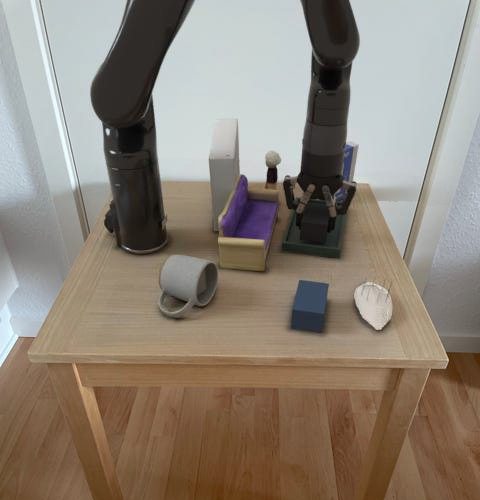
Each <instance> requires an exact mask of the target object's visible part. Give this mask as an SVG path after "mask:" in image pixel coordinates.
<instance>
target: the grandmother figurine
mask: <svg viewBox="0 0 480 500" xmlns="http://www.w3.org/2000/svg"><path fill="white" fill-rule="evenodd" d="M264 157H265V158H264V159H265V166H266V167H267V171H266V181H265V184H264V187H263V189H271V190H277V186H278V179H279V173H278V168H277V166H278V165H280V164H281V162H282V159H281V155H280V154H279V153H278V152H276V151H275V150H274V149H273V150H272V149H271V150H268V151H267V152H266V153H265V156H264Z"/></svg>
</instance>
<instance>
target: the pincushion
mask: <svg viewBox="0 0 480 500" xmlns="http://www.w3.org/2000/svg"><path fill="white" fill-rule="evenodd" d="M375 279H376V278H374V280H373V281H375ZM366 280H367V277H366V278H365V280H364V281H363V283H362V284H360V285H359V286H357V287H356V288H355V289H354V294H353V298H354V301H355V306H356V308H357V309H358V310H359V315H360V316H361V317H362V319H364V320H365V321H366V322H368V324H369V325H370V326H372V327H373V328H374V329H375V330H376V331H377V330H378V331H381V330H382V329H383V328H384V327H385V326H386V325H387V324H388V322H390V321H391V319H392V317H393V310H394V309H393V308H394V305H393V301H392V297H391V295H390V292H391V287H392V282H393V281H391V282H390V286H389V288H388V290H387V289H386V288H385V286H384V285H385V282H386V277H385V278H384V282H383V285H382V286H381V285H379V284H376V283H375V282H369V281H368V282H367V281H366Z"/></svg>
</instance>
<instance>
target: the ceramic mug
mask: <svg viewBox="0 0 480 500" xmlns="http://www.w3.org/2000/svg"><path fill="white" fill-rule="evenodd" d="M218 281H219V269H218V266H217V264H216V263H215V261H213V260H210V259H209V260H208V259H203V258H199V257H194V256H188V255H183V254H171V255H168V257H166V258H165V260H164V261H163V262H162V264H161V266H160V268H159V271H158V284H159V288H160V289H161V292H160V293H159V296H158V300H157V303H158V307H159V309H160V311H161V312H162V313H163V315H165V316H167V317H169V318H171V319H172V318H173V319H175V318H180V317H183V316H185V315H186V314H187V313H189V312H190V310H191V309H193V307H194V306H198V307H204V306H206V305H208V304H209V303H210V302H211V300H212V299H213V297H214V295H215V293H216V291H217V287H218ZM167 296H169V297H173V298H176V299H179V300H182V301H184V302H186V304H185V305H184V306H183V307H182V308H180V309H179V310H175V311H172V312H171V311H169V310H168V308H167V307H165V306H164V302H165V299H166V297H167Z"/></svg>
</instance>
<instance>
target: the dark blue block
mask: <svg viewBox="0 0 480 500" xmlns="http://www.w3.org/2000/svg"><path fill="white" fill-rule="evenodd" d="M329 287H330V283H329V282H328V283H326V282H320V281H312V280H305V279H298V283H297V287H296V291H295V297H294V301H293V304H292V309H291V320H290V329H294V330H301V331H307V332H314V333H322V332H323V325H324V319H325V314H326V313H325V312H326V307H327V301H328V293H329Z"/></svg>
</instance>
